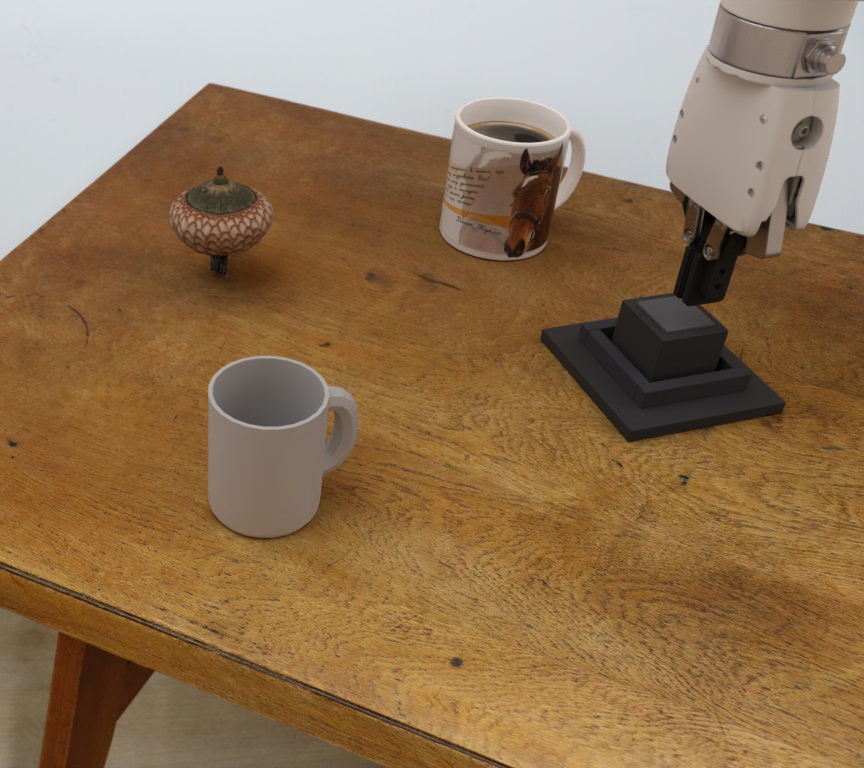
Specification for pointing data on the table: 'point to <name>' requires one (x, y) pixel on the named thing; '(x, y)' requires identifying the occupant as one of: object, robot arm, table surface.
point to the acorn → (220, 219)
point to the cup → (273, 443)
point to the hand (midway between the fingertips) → (697, 297)
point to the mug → (507, 176)
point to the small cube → (668, 337)
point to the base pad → (657, 386)
